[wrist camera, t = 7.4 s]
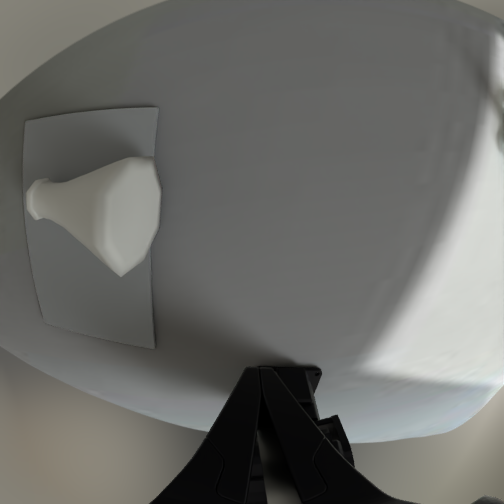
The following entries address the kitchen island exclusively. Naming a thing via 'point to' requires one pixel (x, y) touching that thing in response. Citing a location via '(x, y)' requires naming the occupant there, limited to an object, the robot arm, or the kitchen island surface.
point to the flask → (106, 209)
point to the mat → (67, 246)
